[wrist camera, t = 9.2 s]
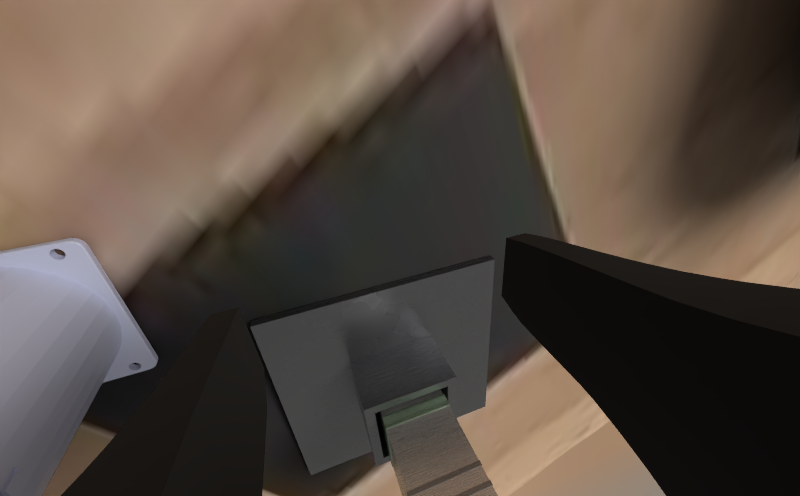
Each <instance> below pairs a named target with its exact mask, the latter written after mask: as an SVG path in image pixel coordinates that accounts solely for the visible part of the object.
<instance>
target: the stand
mask: <svg viewBox="0 0 800 496" xmlns="http://www.w3.org/2000/svg"><path fill="white" fill-rule="evenodd" d="M494 261H495V259H493V258H492V257H491V256H486V257H482V258H478V259H475V260H471V261H467V262H464V263H460V264H456V265H453V266H449V267H445V268H442V269H438V270H434V271H431V272H427V273H423V274H420V275H416V276H412V277H409V278H405V279H401V280H397V281H394V282H390V283H386V284H383V285H379V286H375V287H372V288H368V289H364V290H361V291H357V292H353V293H350V294H346V295H342V296H339V297H335V298H331V299H328V300H324V301H320V302H316V303H313V304H309V305H305V306H302V307H298V308H294V309H291V310H287V311H283V312H280V313H276V314H272V315H269V316H265V317H261V318H258V319H254V320H251V322H250V328H251V330H252V333H253V335H254V338H255V340H256V342H257V345H258V347H259V350H260V352H261V355H262V357H263V360H264V362H265V364H266V367H267V369H268V372H269V374H270V377H271V379H272V382H273V384H274V386H275V389H276V391H277V394H278V396H279V399H280V401H281V403H282V406H283V408H284V411H285V413H286V416H287V418H288V421H289V423H290V425H291V428H292V430H293V433H294V435H295V438H296V440H297V443H298V445H299V447H300V450H301V452H302V455H303V457H304V460H305V462H306V465H307V467H308V469H309V472H310V474H311V475H313V474H316V473H318V472H321V471H323V470H326V469H328V468H331V467H333V466H336V465H338V464H341V463H343V462H346V461H348V460H351V459H353V458H356V457H358V456H361V455H364V454H366V453H369V452H371V451H372V453H373V457H374V461H375V464H376V466H378V465H381V464H383V463H386V462H388V461H391V460H390V457H389V453H388V448H387V445H386V442H385V438H384V432H383V427H382V421H381V416H380V411H382V410H385V409H388V408H390V407H393V406H396V405H399V404H401V403H404V402H407V401H409V400H412V399H415V398H418V397H420V396H423V395H426V394H428V393H431V392H434V391H437V390H439V389H441V391H442V393H443V394H444V395H445V397H446V399H447V401H448V402H449V404H450V408H451V410H452V412H453V413H454V415H455V417H456V419H457V417H459V416H462V415H464V414H467V413H470V412H472V411H475V410H477V409H480V408H482V407H485V401H486V385H487V370H488V354H489V339H490V323H491V308H492V292H493V277H494Z"/></svg>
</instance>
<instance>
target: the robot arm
mask: <svg viewBox="0 0 800 496" xmlns="http://www.w3.org/2000/svg"><path fill="white" fill-rule="evenodd" d="M54 249H60V250H62V251H63V252H65V255H63V256H62V255H59V254H57V253H56V252H55V250H54ZM502 297H503V298H504V300H505V301H506V303H507V304H508V305H509V307H510V308H511V310H512V311H513V312H514V314H515V315H516V316H517V318H518V319H519V320H520V322H521V323H522V324H523V325H524V326H525V327H526V328H527V330H528V331H529V332H530V333H531V334H532V335H533V336H534V337H535V338H536V339H537V340H538V341H539V342H540V343H541V344H542V345H543V346H544V347H545V348H546V350H547V351H548V352H549V353H550V354H551V355H552V356H553V357H554V358H555V359H556V360H557V361H558V362H559V363H560V364H561V365H562V366H563V367H564V368H565V369H566V370H567V371H568V372H569V373H570V374H571V375H572V376H573V377H574V379H575V380H576V381H577V382H578V383H579V384H580V385H581V386H582V387H583V388H584V389H585V390H586V392H587V393H588V394H589V395H590V396H591V397H592V398H593V399H594V401H595V402H596V403H597V404H598V406H599V407H600V408H601V409H602V411H603V412H604V413H605V414H606V416H607V417H608V418H609V419H610V421H611V422H612V423H613V424H614V426H615V427H616V428H617V429H618V431H619V432H620V433H621V435H622V436H623V437H624V439H625V440H626V441H627V443H628V444H629V445H630V447H631V448H632V449H633V451H634V452H635V453H636V455H637V456H638V457H639V458H640V460H641V461H642V463H643V464H644V465H645V467H646V468H647V469H648V471H649V472H650V473H651V475H652V476H653V478H654V479H655V480H656V482H657V483H658V485H659V486H660V487H661V489H662V490H663V492H664V493H665V495H666V496H800V289H796V288H787V287H780V286H772V285H764V284H756V283H748V282H741V281H734V280H728V279H721V278H716V277H710V276H705V275H699V274H693V273H688V272H682V271H677V270H673V269H668V268H663V267H659V266H654V265H650V264H646V263H642V262H637V261H633V260H629V259H625V258H621V257H617V256H613V255H609V254H606V253H602V252H598V251H594V250H591V249H587V248H583V247H580V246H576V245H572V244H569V243H565V242H561V241H558V240H554V239H550V238H546V237H541V236H537V235H531V234H525V233H524V234H520V235H517V236H513V237H509V238H506V248H505V261H504V273H503V285H502ZM157 362H158V356H157V354H156V352H155V351H154V349H153V348H152V346H151V344H150V343H149V341H148V340H147V338H146V337H145V335H144V333H143V332H142V330H141V329H140V327H139V325H138V324H137V322H136V321H135V319H134V317H133V316H132V314H131V313H130V311H129V309H128V308H127V306H126V305H125V303H124V301H123V300H122V298H121V297H120V295H119V293H118V292H117V290H116V289H115V287H114V286H113V284H112V282H111V281H110V279H109V278H108V276H107V274H106V273H105V271H104V270H103V268H102V266H101V265H100V263H99V262H98V260H97V258H96V257H95V255H94V254H93V252H92V250H91V249H90V247H89V246H88V245H87V244H86V242H84V241H82V240H80V239H77V238H67V239H62V240H57V241H51V242H46V243H41V244H36V245H30V246H25V247H20V248H15V249H9V250H4V251H0V496H42V495H43V493H44V491H45V490H46V488H47V486H48V484H49V482H50V480H51V478H52V476H53V475H54V473H55V471H56V469H57V467H58V465H59V463H60V461H61V459H62V458H63V456H64V454H65V452H66V450H67V448H68V446H69V444H70V443H71V441H72V439H73V437H74V435H75V433H76V431H77V429H78V428H79V426H80V424H81V422H82V420H83V418H84V416H85V414H86V413H87V411H88V409H89V407H90V405H91V403H92V401H93V399H94V398H95V396H96V394H97V392H98V390H99V388H100V386H101V384H102V383H104V382H107V381H111V380H114V379H118V378H121V377H125V376H128V375H132V374H135V373H139V372H142V371H146V370H149V369H152V368H154V367H155V366H156V364H157ZM133 363H139V364H140V365H135V364H133ZM266 418H267V401H266V385H265V372H264V367H263V364H262V362H261V359H260V357H259V355H258V352H257V350H256V347H255V345H254V343H253V340H252V338H251V335H250V333H249V331H248V328H247V326H246V323H245V321H244V319H243V316H242V314H241V311H240V309H239V308H236V309H232V310H228V311H224V312H220V313H216V314H213V315H210V317H209V318H208V319H207V320H206V322H205V323H204V324H203V326H202V327H201V328H200V330H199V331H198V332H197V334H196V335H195V336H194V338H193V339H192V340H191V342H190V343H189V344H188V346H187V347H186V348H185V350H184V351H183V352H182V354H181V355H180V356H179V358H178V359H177V360H176V362H175V363H174V364H173V366H172V367H171V368H170V369H169V371H168V372H167V373H166V375H165V376H164V377H163V379H162V380H161V381H160V382H159V384H158V385H157V386H156V388H155V389H154V390H153V391H152V393H151V394H150V395H149V396H148V397H147V399H146V400H145V401H144V402H143V403H142V405H141V406H140V407H139V408H138V409H137V411H136V412H135V413H134V414H133V415H132V416H131V418H130V419H129V420H128V421H127V422H126V424H125V425H124V426H123V427H122V428H121V430H120V431H119V432H118V433H117V434H116V436H115V437H114V438H113V439H112V440H111V442H110V443H109V444H108V445H107V446H106V447H105V448H104V450H103V451H102V452H101V453H100V454H99V455H98V456H97V457H96V459H95V460H94V461H93V462H92V463H91V464H90V465H89V466H88V467H87V468H86V469H85V471H84V472H83V473H82V474H81V475H80V476H79V477H78V478H77V479H76V480H75V481H74V482H73V483H72V485H71V486H70V487H69V488H68V489H67V490H66V491H65V492H64V493H63V494H62V495H61V496H262V487H263V470H264V454H265V436H266Z"/></svg>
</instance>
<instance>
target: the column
mask: <svg viewBox="0 0 800 496" xmlns="http://www.w3.org/2000/svg"><path fill="white" fill-rule="evenodd" d="M380 416H381V421H382V427H383V432H384V438H385V442H386V445H387V448H388V453H389V457H390V460H391V463H392V467H393V468H394V471H395V474H396V477H397V480H398V484H399V487H400V490H401V493H402V496H498V495H497V493H496V492H495V490H494V488H493V484H492V483H491V481H490V480H489V479H488V477H487V475H486V473H485V471H484V469H483V467H482V464H481V462H480V460H478V458H477V456H476V454H475V453H474V451H473V449H472V447H471V445H470V443H469V441H468V439H467V438H466V436H465V434H464V432H463V430H462V428H461V426H460V425H459V423H458V421H457V419H456V417H455V415H454V413H453V412H452V410H451V408H450V404H449V402H448V401H447V399H446V397H445V395H444V394H443V393H442V391H441V389H439V390H437V391H434V392H431V393H428V394H426V395H423V396H420V397H418V398H415V399H412V400H409V401H407V402H404V403H401V404H399V405H396V406H393V407H390V408H388V409H385V410H382V411H380Z"/></svg>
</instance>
